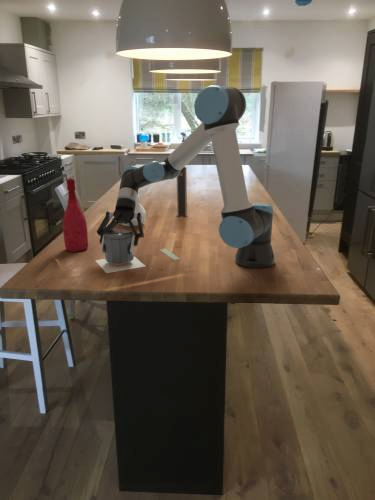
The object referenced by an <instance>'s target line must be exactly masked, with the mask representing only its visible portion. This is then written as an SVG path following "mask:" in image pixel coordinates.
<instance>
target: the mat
mask: <svg viewBox="0 0 375 500" xmlns="http://www.w3.org/2000/svg"><path fill="white" fill-rule="evenodd" d="M160 251H161V252H162V253H164V254H165V255H166V256H169V257H170V259H172V260H175V261H177V260H180V259H181V258H180V257H179V256H176V255H175V253H173V252H171V251H169V250H168V249H166V248H162V249H161V248H160Z"/></svg>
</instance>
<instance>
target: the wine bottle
mask: <svg viewBox="0 0 375 500" xmlns="http://www.w3.org/2000/svg"><path fill="white" fill-rule="evenodd" d="M66 185H67V186H66V187H67V188H66V189H67V193H68V195H67V196H68V197H67V198H68V199H67V205H66V207H65V211H64V214H63V218H62V233H63V241H64V247H65V250H66V251H68V252H70V253H71V252H72V253H73V252H75V253H76V252H77V253H78V252H82V251H83V252H84V251H85V250H86V249H88V247H89V238H88V236H89V235H88V226H87V225H88V223H87V220H86V217H85V214H84V212H83V210H82V209H81V207H80V205H79V201H78V199H77V196H76V189H77V188H76V180H75V179H74V178H67V179H66Z"/></svg>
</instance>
